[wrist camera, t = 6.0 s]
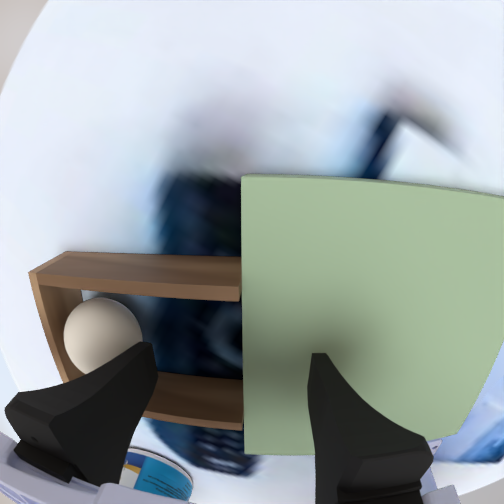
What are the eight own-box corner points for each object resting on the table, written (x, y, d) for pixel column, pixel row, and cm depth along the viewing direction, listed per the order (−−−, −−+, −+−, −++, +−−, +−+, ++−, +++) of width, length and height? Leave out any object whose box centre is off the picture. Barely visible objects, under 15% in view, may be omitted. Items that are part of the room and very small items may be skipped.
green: (445, 412, 17) (456, 433, 15) (248, 426, 18) (244, 453, 16) (510, 197, 12) (536, 205, 10) (247, 173, 13) (241, 177, 11)
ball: (66, 380, 14) (99, 330, 17) (131, 405, 13) (159, 346, 17) (37, 325, 11) (81, 274, 15) (108, 352, 11) (148, 289, 15)
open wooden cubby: (248, 418, 18) (236, 508, 11) (104, 396, 19) (62, 463, 12) (247, 257, 15) (223, 339, 8) (65, 251, 15) (-19, 300, 9)
